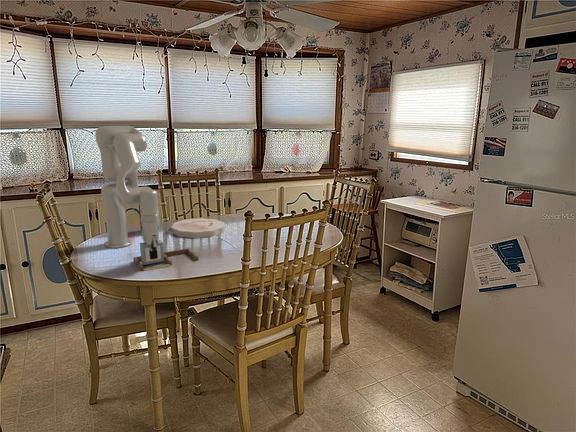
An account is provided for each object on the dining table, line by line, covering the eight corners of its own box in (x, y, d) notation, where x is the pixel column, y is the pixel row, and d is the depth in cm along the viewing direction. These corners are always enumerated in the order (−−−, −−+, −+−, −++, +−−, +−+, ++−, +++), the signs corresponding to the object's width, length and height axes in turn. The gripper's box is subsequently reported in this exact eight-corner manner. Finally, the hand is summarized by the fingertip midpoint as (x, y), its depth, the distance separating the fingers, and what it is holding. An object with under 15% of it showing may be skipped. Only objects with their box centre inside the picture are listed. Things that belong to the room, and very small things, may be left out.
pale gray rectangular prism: (141, 262, 182) (139, 243, 180) (161, 258, 187) (160, 240, 185) (143, 265, 179) (142, 245, 176) (164, 261, 184) (162, 242, 181)
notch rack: (133, 261, 185) (133, 255, 185) (188, 251, 199) (188, 246, 198) (141, 271, 174) (140, 265, 173) (199, 260, 188) (198, 255, 187)
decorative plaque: (160, 226, 230) (197, 216, 255) (160, 232, 231) (197, 221, 256) (200, 235, 215) (235, 223, 240) (200, 241, 216) (235, 229, 241)
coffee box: (139, 232, 229) (137, 205, 225) (146, 229, 235) (144, 202, 231) (154, 234, 227) (152, 206, 223) (160, 231, 233) (158, 203, 229)
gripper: (136, 214, 183) (139, 253, 187) (146, 223, 169) (148, 264, 173) (153, 212, 187) (155, 250, 191) (164, 221, 173) (166, 261, 177)
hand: (152, 256), depth 182 cm, fingers closed on pale gray rectangular prism, 4 cm apart
